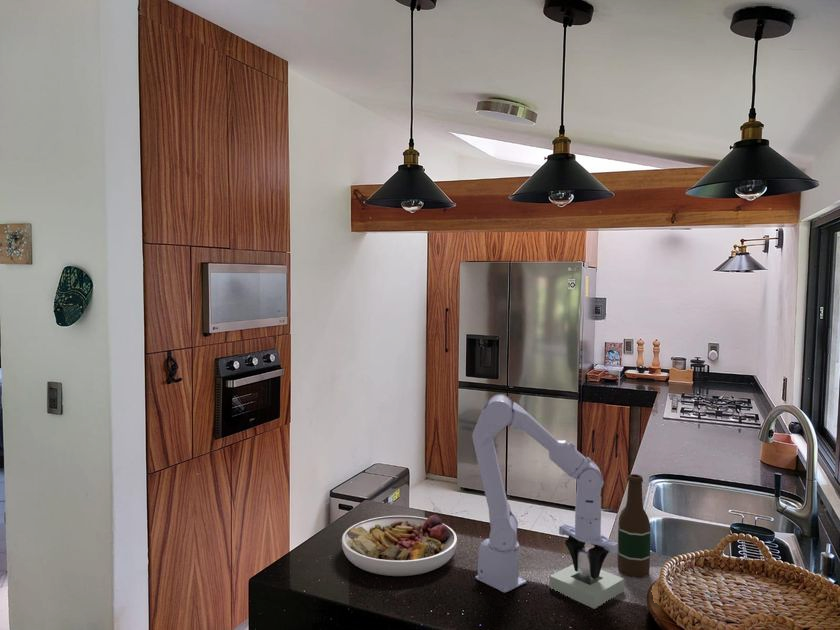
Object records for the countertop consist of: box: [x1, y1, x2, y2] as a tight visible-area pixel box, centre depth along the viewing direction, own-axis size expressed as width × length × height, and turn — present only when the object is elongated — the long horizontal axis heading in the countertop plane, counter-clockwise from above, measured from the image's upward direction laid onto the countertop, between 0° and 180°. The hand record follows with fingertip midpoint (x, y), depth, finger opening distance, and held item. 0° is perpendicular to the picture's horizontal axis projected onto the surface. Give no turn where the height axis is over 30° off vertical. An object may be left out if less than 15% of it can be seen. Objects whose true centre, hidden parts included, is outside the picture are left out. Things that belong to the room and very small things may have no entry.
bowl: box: [341, 514, 458, 577], centre depth 161 cm, size 30×30×8 cm
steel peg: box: [578, 546, 595, 585], centre depth 142 cm, size 4×4×8 cm
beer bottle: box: [617, 473, 652, 579], centre depth 151 cm, size 8×8×24 cm
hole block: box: [549, 564, 625, 610], centre depth 142 cm, size 12×12×3 cm
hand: (586, 573), depth 142 cm, fingers closed on steel peg, 4 cm apart
